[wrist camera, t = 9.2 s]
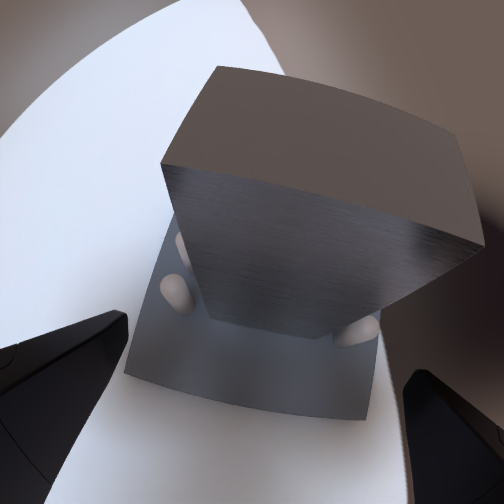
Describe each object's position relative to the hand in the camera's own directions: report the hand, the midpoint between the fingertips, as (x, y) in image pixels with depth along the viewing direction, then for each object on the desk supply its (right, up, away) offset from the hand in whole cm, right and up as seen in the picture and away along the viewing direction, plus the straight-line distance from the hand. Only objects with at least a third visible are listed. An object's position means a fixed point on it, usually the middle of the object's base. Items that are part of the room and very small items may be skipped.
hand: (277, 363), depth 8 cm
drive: (0, 0, +9) cm, 9 cm away
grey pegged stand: (0, 0, +10) cm, 10 cm away
